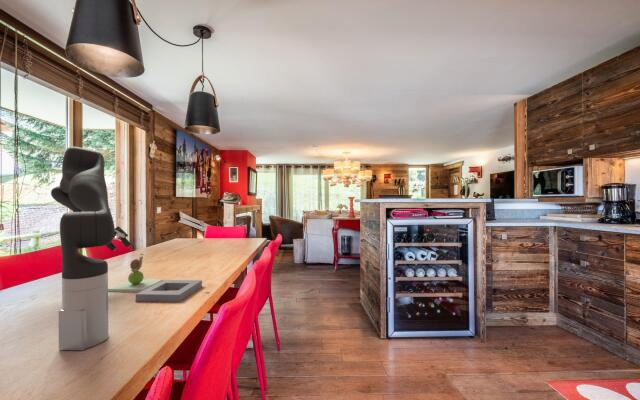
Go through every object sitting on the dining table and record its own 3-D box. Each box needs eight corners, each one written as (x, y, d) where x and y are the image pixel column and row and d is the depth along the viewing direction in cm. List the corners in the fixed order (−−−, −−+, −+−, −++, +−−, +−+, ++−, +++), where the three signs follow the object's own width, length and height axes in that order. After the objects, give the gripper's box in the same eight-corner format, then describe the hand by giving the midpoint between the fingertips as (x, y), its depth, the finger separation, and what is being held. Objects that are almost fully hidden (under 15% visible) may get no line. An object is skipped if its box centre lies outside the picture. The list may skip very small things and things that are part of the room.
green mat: (142, 291, 115) (142, 289, 115) (107, 291, 116) (107, 289, 116) (163, 281, 129) (163, 279, 129) (132, 281, 130) (131, 279, 130)
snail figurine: (148, 281, 125) (148, 253, 125) (137, 286, 119) (136, 256, 119) (136, 281, 126) (136, 253, 126) (124, 285, 120) (124, 256, 120)
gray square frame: (179, 301, 104) (179, 294, 104) (135, 301, 105) (135, 294, 105) (202, 286, 122) (202, 280, 122) (164, 285, 123) (164, 279, 123)
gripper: (87, 214, 116) (115, 244, 115) (114, 212, 130) (139, 238, 130) (74, 228, 116) (102, 257, 116) (102, 224, 130) (128, 250, 130)
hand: (122, 247), depth 123 cm, fingers open, 8 cm apart
